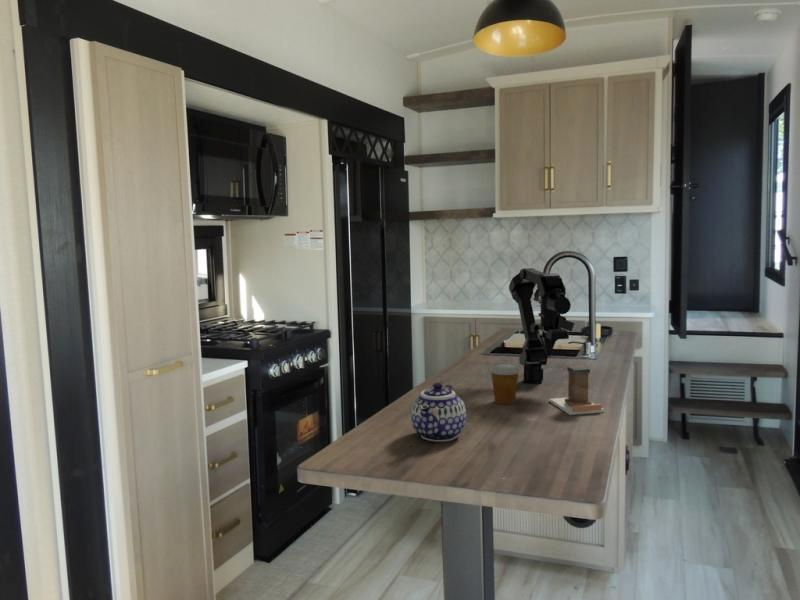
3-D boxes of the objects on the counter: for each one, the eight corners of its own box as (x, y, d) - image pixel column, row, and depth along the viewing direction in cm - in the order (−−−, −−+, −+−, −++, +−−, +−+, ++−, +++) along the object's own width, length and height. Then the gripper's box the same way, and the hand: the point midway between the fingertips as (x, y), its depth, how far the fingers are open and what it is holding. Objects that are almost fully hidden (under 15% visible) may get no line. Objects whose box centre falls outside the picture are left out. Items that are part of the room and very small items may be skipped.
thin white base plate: (549, 401, 215) (549, 394, 214) (581, 399, 217) (581, 392, 216) (570, 415, 200) (570, 406, 199) (604, 412, 202) (604, 404, 202)
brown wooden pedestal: (564, 402, 209) (565, 366, 208) (582, 400, 210) (583, 365, 209) (573, 407, 203) (573, 370, 202) (591, 405, 204) (592, 369, 203)
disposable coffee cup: (523, 399, 218) (523, 363, 216) (515, 407, 209) (515, 369, 208) (494, 397, 222) (494, 361, 220) (486, 404, 213) (486, 367, 212)
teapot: (430, 420, 197) (430, 371, 195) (479, 426, 190) (479, 375, 189) (394, 446, 174) (393, 390, 172) (448, 453, 168) (448, 396, 166)
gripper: (584, 313, 218) (583, 360, 220) (559, 306, 237) (559, 349, 238) (552, 314, 216) (551, 361, 218) (530, 307, 235) (529, 351, 236)
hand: (548, 355), depth 228 cm, fingers closed
